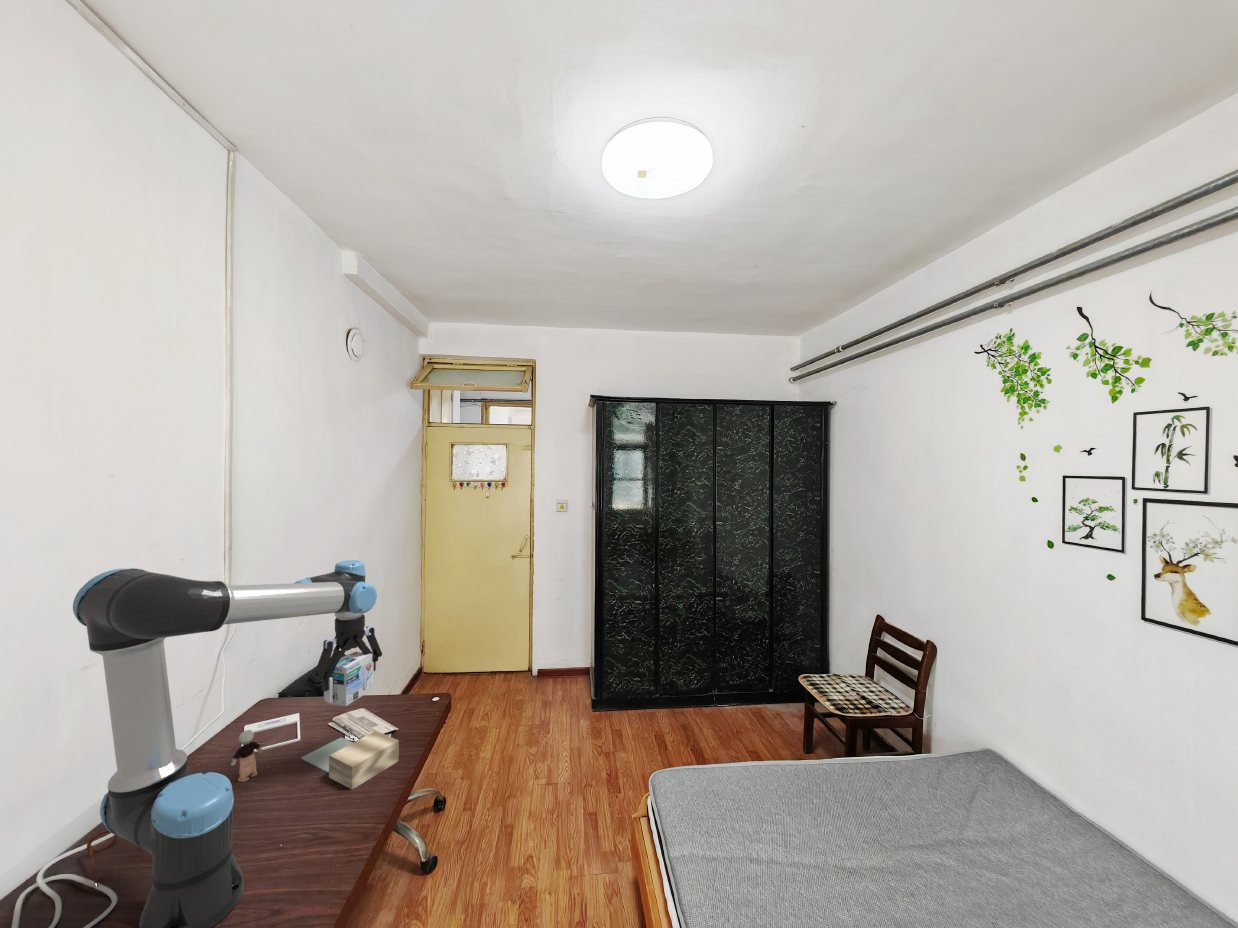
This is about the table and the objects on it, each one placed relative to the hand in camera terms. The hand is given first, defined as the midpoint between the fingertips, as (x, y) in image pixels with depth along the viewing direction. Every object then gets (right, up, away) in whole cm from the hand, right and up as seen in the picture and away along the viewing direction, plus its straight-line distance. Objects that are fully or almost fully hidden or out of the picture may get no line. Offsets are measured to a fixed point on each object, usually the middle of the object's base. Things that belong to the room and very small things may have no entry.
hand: (349, 692), depth 142 cm
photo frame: (-32, -20, +14) cm, 40 cm away
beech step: (+6, -20, -3) cm, 21 cm away
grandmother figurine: (-24, -20, -7) cm, 32 cm away
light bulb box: (0, -1, 0) cm, 1 cm away
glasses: (-29, -21, -33) cm, 49 cm away
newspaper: (-5, -20, +18) cm, 28 cm away
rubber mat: (-6, -20, +3) cm, 21 cm away
